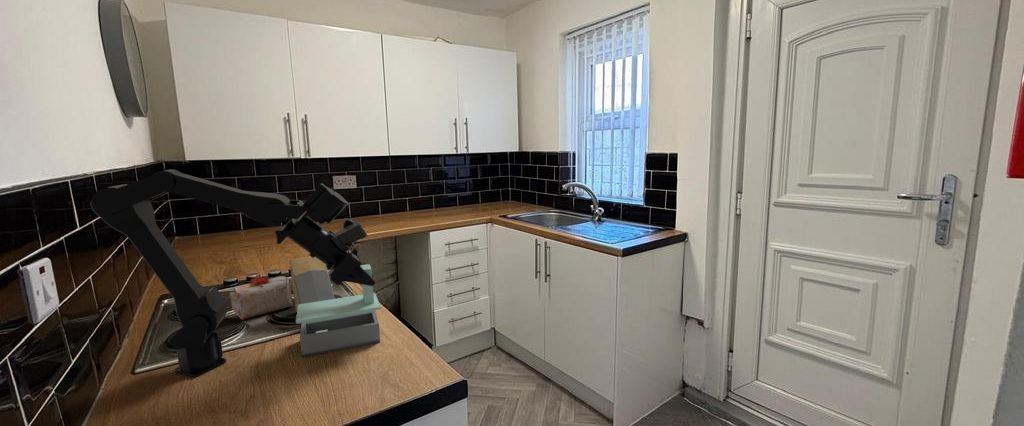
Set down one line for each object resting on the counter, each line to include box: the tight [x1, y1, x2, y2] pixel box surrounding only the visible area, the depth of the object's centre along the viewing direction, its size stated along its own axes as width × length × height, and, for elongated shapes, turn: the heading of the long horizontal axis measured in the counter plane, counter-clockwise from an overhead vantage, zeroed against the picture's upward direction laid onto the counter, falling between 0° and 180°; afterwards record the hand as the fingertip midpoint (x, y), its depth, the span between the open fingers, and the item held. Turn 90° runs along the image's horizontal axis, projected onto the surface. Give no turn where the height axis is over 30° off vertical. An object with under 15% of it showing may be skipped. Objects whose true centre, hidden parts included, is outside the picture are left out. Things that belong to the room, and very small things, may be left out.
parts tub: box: [299, 310, 381, 358], centre depth 97 cm, size 16×9×4 cm, turn 113°
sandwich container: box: [289, 255, 336, 325], centre depth 108 cm, size 9×15×15 cm, turn 35°
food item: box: [229, 274, 294, 321], centre depth 114 cm, size 14×8×10 cm, turn 132°
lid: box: [295, 263, 381, 324], centre depth 94 cm, size 17×10×10 cm, turn 114°
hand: (373, 281), depth 96 cm, fingers closed on lid, 4 cm apart
